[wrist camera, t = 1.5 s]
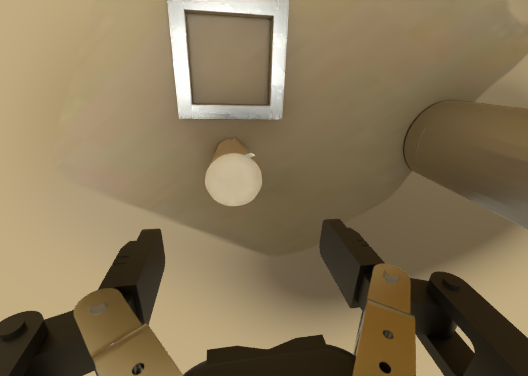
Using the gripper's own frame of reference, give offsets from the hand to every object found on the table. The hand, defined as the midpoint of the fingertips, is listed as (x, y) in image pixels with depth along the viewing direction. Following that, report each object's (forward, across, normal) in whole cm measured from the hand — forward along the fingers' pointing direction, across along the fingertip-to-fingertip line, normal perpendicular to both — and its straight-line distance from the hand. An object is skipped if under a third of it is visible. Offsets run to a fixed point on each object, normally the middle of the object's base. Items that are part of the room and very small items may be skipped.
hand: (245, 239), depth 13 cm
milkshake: (+17, 0, 0) cm, 17 cm away
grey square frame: (+17, 0, -8) cm, 19 cm away
